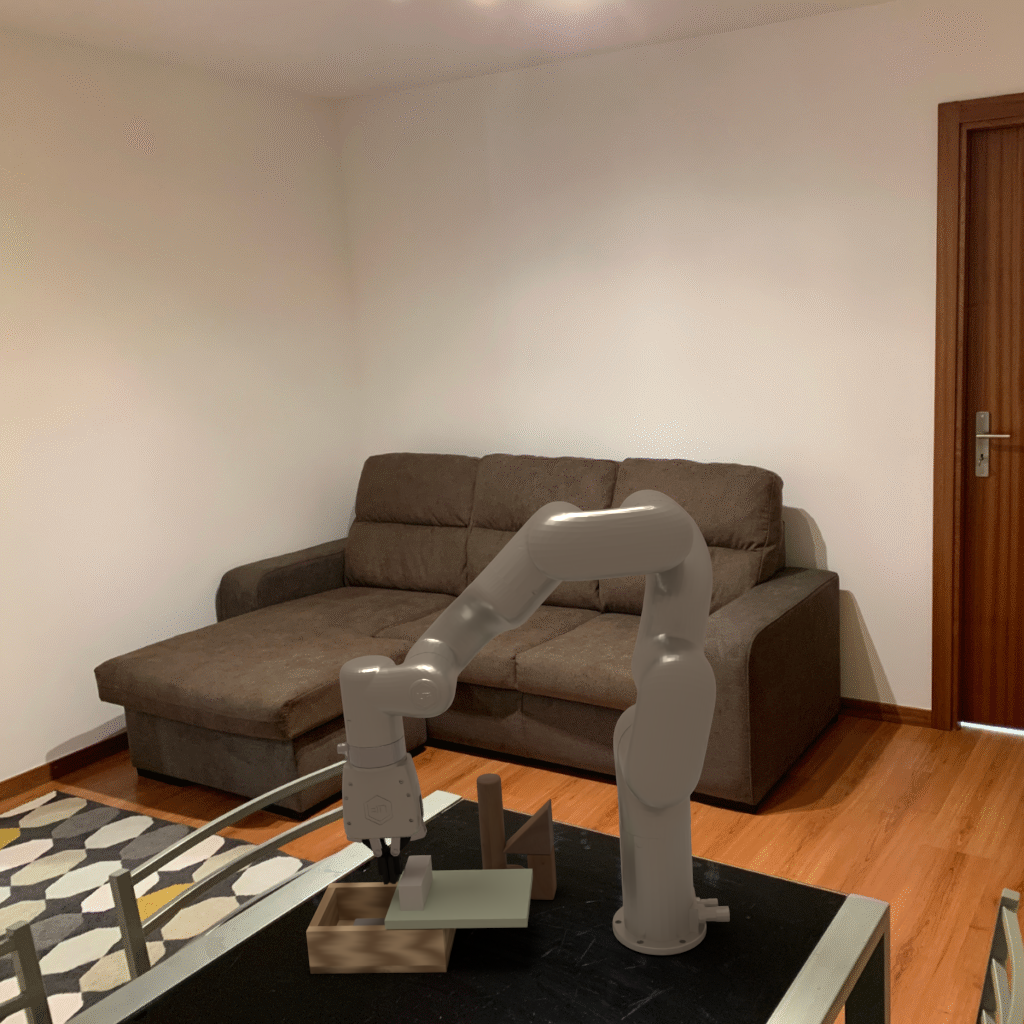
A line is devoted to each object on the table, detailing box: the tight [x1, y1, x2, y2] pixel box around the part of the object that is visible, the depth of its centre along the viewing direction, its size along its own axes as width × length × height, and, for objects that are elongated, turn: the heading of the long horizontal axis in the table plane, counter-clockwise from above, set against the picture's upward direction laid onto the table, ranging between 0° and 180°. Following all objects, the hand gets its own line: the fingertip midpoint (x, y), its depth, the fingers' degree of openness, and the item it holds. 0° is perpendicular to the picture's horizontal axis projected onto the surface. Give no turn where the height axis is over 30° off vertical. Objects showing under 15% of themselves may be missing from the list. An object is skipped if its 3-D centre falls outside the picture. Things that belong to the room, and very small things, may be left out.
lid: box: [385, 854, 533, 929], centre depth 136 cm, size 18×12×5 cm
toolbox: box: [305, 881, 457, 975], centre depth 137 cm, size 18×12×6 cm, turn 85°
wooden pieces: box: [476, 772, 557, 901], centre depth 148 cm, size 4×11×18 cm, turn 80°
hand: (391, 878), depth 136 cm, fingers closed
